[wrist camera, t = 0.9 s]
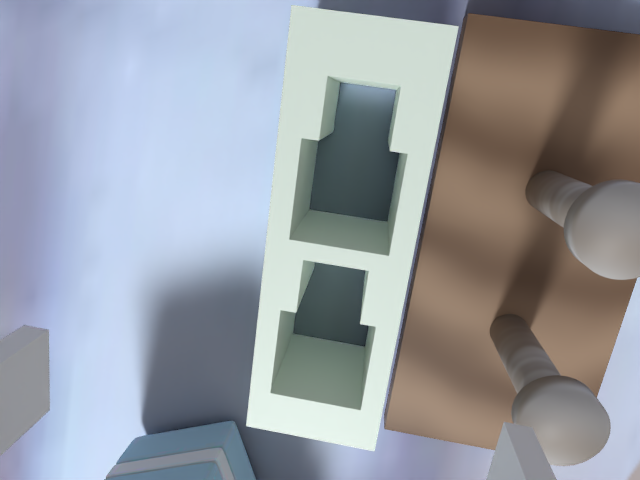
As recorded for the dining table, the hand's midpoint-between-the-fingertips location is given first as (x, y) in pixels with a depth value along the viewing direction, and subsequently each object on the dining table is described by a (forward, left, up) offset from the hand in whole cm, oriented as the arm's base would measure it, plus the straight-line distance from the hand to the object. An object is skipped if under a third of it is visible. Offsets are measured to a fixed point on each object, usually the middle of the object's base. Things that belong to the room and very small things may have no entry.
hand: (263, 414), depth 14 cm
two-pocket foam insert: (-2, +1, -17) cm, 18 cm away
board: (-1, +12, -17) cm, 21 cm away
